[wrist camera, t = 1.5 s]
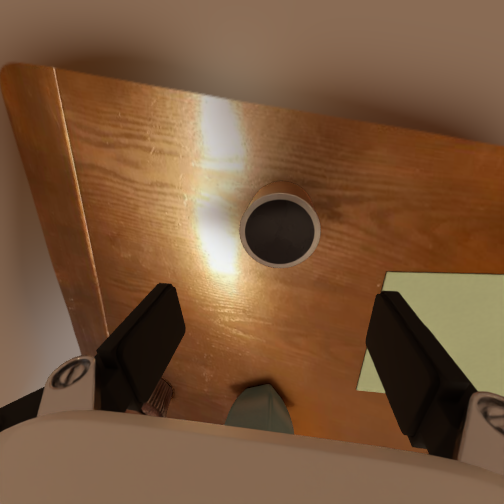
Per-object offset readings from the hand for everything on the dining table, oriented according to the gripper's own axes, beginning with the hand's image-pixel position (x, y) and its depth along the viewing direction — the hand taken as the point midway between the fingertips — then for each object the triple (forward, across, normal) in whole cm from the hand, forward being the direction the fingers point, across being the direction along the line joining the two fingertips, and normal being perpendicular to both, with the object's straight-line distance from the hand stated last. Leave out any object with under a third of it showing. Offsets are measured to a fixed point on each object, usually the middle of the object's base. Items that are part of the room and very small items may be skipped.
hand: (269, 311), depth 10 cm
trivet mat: (+15, -23, +18) cm, 33 cm away
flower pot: (+16, +3, +32) cm, 36 cm away
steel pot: (+15, 0, 0) cm, 15 cm away
